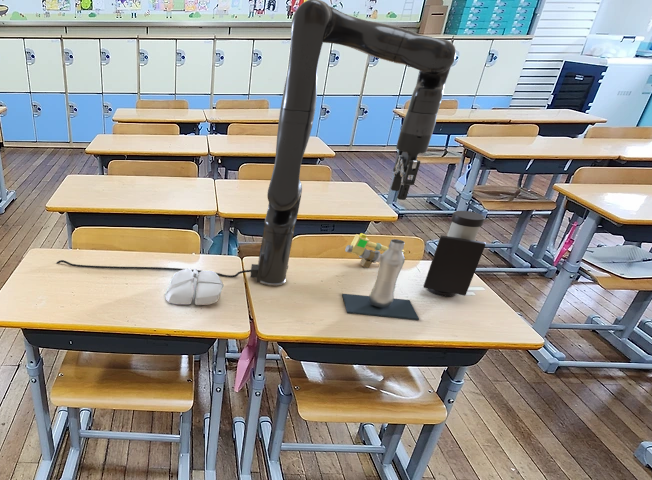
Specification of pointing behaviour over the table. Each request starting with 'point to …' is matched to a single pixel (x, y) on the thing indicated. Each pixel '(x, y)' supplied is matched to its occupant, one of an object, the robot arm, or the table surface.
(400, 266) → the plastic bottle
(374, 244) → the toy
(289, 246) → the robot arm
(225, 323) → the table surface
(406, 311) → the mat
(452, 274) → the light fixture
